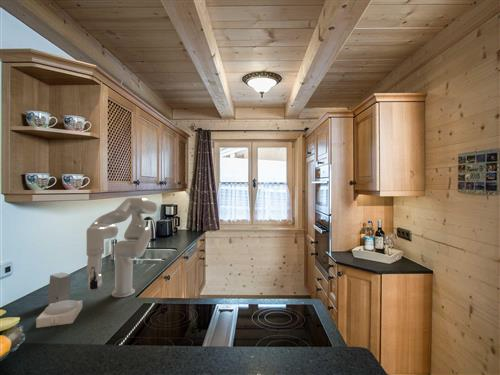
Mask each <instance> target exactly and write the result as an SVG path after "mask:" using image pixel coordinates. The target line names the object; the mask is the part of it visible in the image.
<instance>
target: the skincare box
mask: <svg viewBox="0 0 500 375" xmlns="http://www.w3.org/2000/svg"><path fill="white" fill-rule="evenodd" d="M71 282H72V274H70V273H68V272H67V273H65V272H57V273H54V274H50V276H49V283H48V285H49V286H48V294H47V302H46V303H47V305H48V306H49V305H50V304H52V303H56V302H60V301H66V300H70V295H71V284H72V283H71Z"/></svg>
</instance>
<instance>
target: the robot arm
mask: <svg viewBox="0 0 500 375" xmlns="http://www.w3.org/2000/svg"><path fill="white" fill-rule="evenodd" d="M157 210H158V205H157V203H156V202H155V201H153V200H150V199H147V198H143V197H128V198H125V199H124V200H123V201H122V203H121V204H120V205H119V206H117V208H116V209H114V210H112V211H109V212H107V213H105V214H103V215H100V216H99V217H98V218H96V219H95V220H94V221H93V222H91V225H89V226H88V227H87V229H86V256H87V266H86V276H89V275H90V274H91V275H90V289H97V275H98V274H99V272H101V271H102V267H103V266H102V264H103V257H102V256H103V254H104V253H105V252H104V251H105V250H104V249H105V244H104V242H105V241H104V240H106V239H107V240H108V239H113V238H114V237H116V236H117V235H118V232H119V229H118V226H117V225H115V224H119V223H122V222H126V221H127V220H128V219H129V218H130V216H131V221H130V222H129V225H128V226H127V228H126V230H125V232H124V235H123V237H124V240H119V241H117V242H115V244H114V245H113V254H114V264H115V267H114V269H115V270H114V290H113V291H112V292H111V296H112V297H113V298H126V297H130V296H132V295H134V294H135V292H136V289H135V288H133V273H134V272H133V270H134V268H133V266H134V265H133V260H132V258H141V257H142V256H143V255H144V253H145V252H146V250H147V247H148V245H149V243H150V241H151V238H152V230H151V228H150V227H148V226H145V224H146V221H145V218H144V216H143V215H153V214H155V213H156V212H157ZM94 273H96V274H95V275H94ZM94 276H95V277H94Z"/></svg>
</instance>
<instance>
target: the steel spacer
mask: <svg viewBox="0 0 500 375" xmlns="http://www.w3.org/2000/svg"><path fill="white" fill-rule="evenodd" d="M95 274H96V273H94V275H95ZM90 275H91V274H90ZM90 275H89V276H88V278H87V280H88V281H87V284H88V285H87V286H88V288H87V289H88V290H89V291H91V292H92V291H98V290H101V289H102V287H103V272H101V271H100V272H99V274H98V275H97V289H90ZM94 277H95V276H94Z"/></svg>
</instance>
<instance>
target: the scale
mask: <svg viewBox="0 0 500 375" xmlns="http://www.w3.org/2000/svg"><path fill="white" fill-rule="evenodd" d="M82 309H83V300H81V299H80V300H74V299H69V300H66V301H60V302H56V303H52V304H50V305H48V306H46V307H45V308H44V310H43V311H42V312H41V313H40V314H39V315H38V317H36V319H35V321H36V322H35V325H36V326H35V328H45V327H46V328H47V327H55V326H62V325H67V324H68V325H69V324H73V323H74V322H75V320H76V319H77V317H78V315H79V314H80V312H81V311H82Z"/></svg>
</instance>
